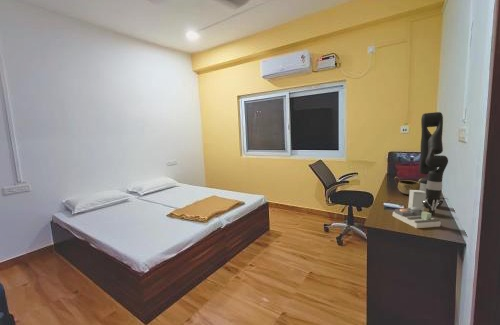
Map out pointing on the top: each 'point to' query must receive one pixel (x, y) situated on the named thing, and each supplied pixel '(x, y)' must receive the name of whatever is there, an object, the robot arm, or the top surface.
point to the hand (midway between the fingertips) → (431, 215)
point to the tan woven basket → (407, 185)
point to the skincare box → (417, 199)
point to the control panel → (415, 219)
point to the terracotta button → (403, 210)
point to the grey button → (415, 209)
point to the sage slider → (425, 215)
